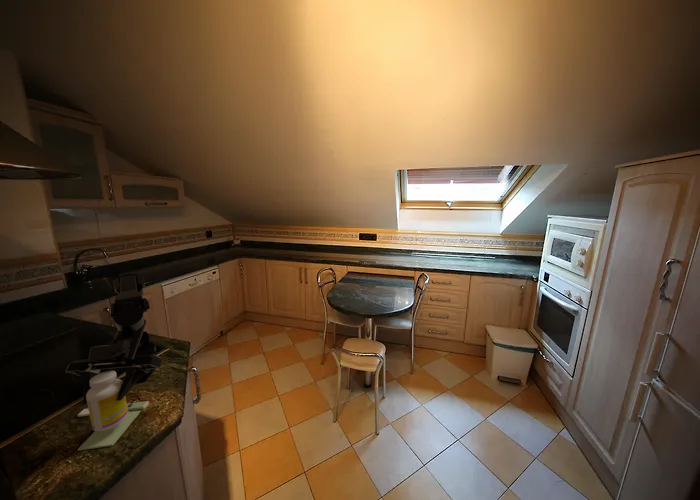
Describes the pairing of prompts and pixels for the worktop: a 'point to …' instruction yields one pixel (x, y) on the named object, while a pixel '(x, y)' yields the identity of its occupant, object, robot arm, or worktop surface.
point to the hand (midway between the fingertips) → (102, 402)
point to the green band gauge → (114, 433)
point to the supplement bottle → (106, 401)
